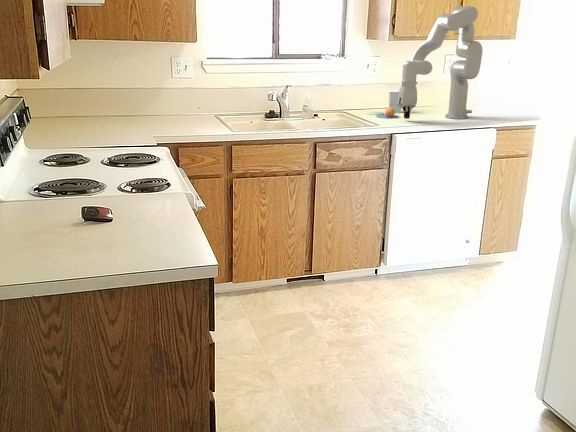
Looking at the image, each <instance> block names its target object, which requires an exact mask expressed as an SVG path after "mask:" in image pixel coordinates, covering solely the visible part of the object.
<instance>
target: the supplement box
mask: <svg viewBox="0 0 576 432" xmlns="http://www.w3.org/2000/svg"><path fill="white" fill-rule="evenodd" d="M399 90H400V89H399ZM399 90H398V89H394V90H393V89H392V90H391V89H390V90H388V103H387V108H389V107H391V108H393V109H394V111H395V114H398V113H399V114H401V113H402V108H399V105H398V95H399Z"/></svg>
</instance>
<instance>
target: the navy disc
mask: <svg viewBox="0 0 576 432" xmlns="http://www.w3.org/2000/svg"><path fill="white" fill-rule="evenodd" d="M375 117H376V118H378V119H398V118H399V117H400V115H397V114H396V115H395V114H394V115H393V116H392V117H387V116H386V115H385V113H384V114H382V115H375Z"/></svg>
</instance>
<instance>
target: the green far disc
mask: <svg viewBox="0 0 576 432" xmlns="http://www.w3.org/2000/svg"><path fill="white" fill-rule="evenodd" d="M382 114H385V112H381V111H369V112H367V115H372V116H377V115H382Z"/></svg>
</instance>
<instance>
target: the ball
mask: <svg viewBox="0 0 576 432" xmlns="http://www.w3.org/2000/svg"><path fill="white" fill-rule="evenodd" d="M384 114H385V115H386V116H387V117H392V116H393V115H395V114H396V113H395V111H394V109H393V108H391V107H389V108H388V107H387V108H386V109H385V110H384Z"/></svg>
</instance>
